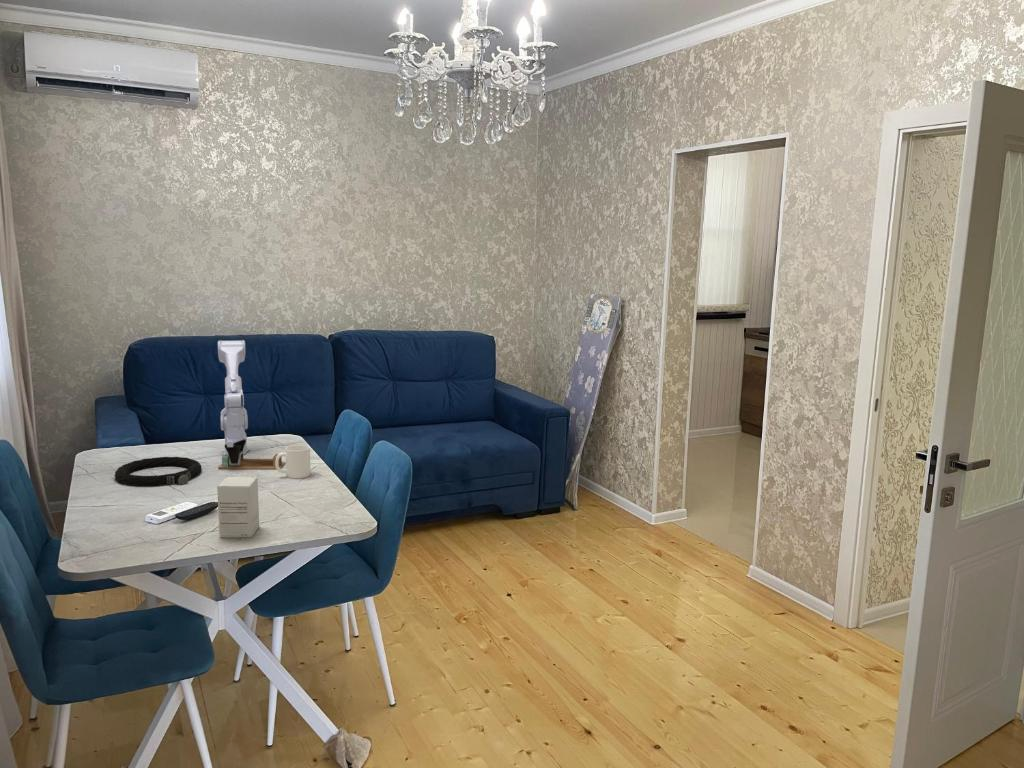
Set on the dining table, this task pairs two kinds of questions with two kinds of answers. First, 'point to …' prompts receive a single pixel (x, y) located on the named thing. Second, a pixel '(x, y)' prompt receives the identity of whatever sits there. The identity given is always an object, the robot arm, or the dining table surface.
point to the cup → (295, 461)
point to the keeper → (241, 456)
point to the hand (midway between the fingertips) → (236, 461)
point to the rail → (252, 463)
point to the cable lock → (157, 480)
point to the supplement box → (238, 506)
